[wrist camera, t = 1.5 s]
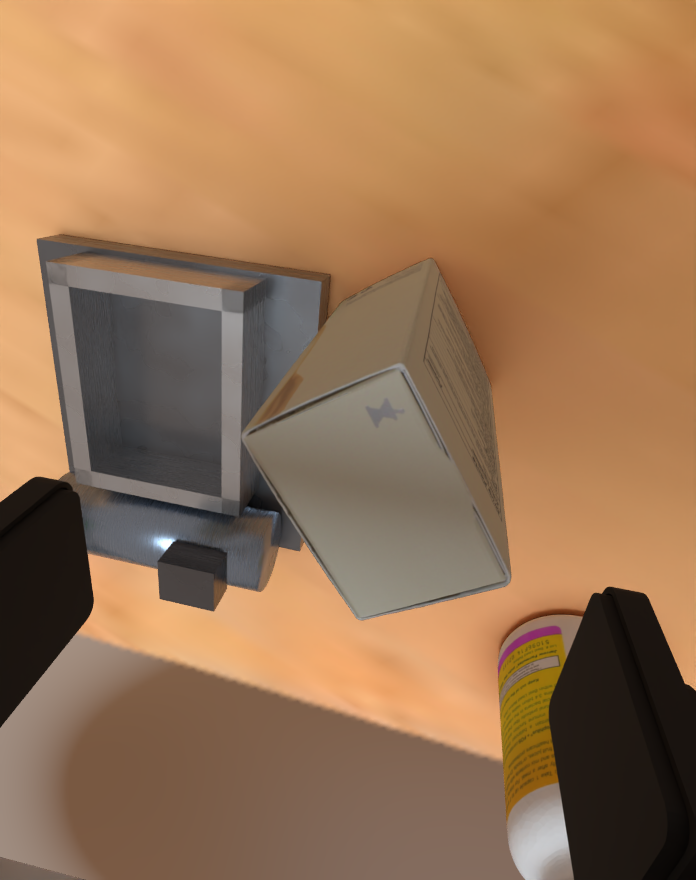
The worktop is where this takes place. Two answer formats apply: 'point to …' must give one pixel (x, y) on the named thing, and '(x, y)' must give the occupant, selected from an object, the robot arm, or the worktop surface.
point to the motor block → (174, 404)
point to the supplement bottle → (534, 745)
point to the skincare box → (390, 450)
